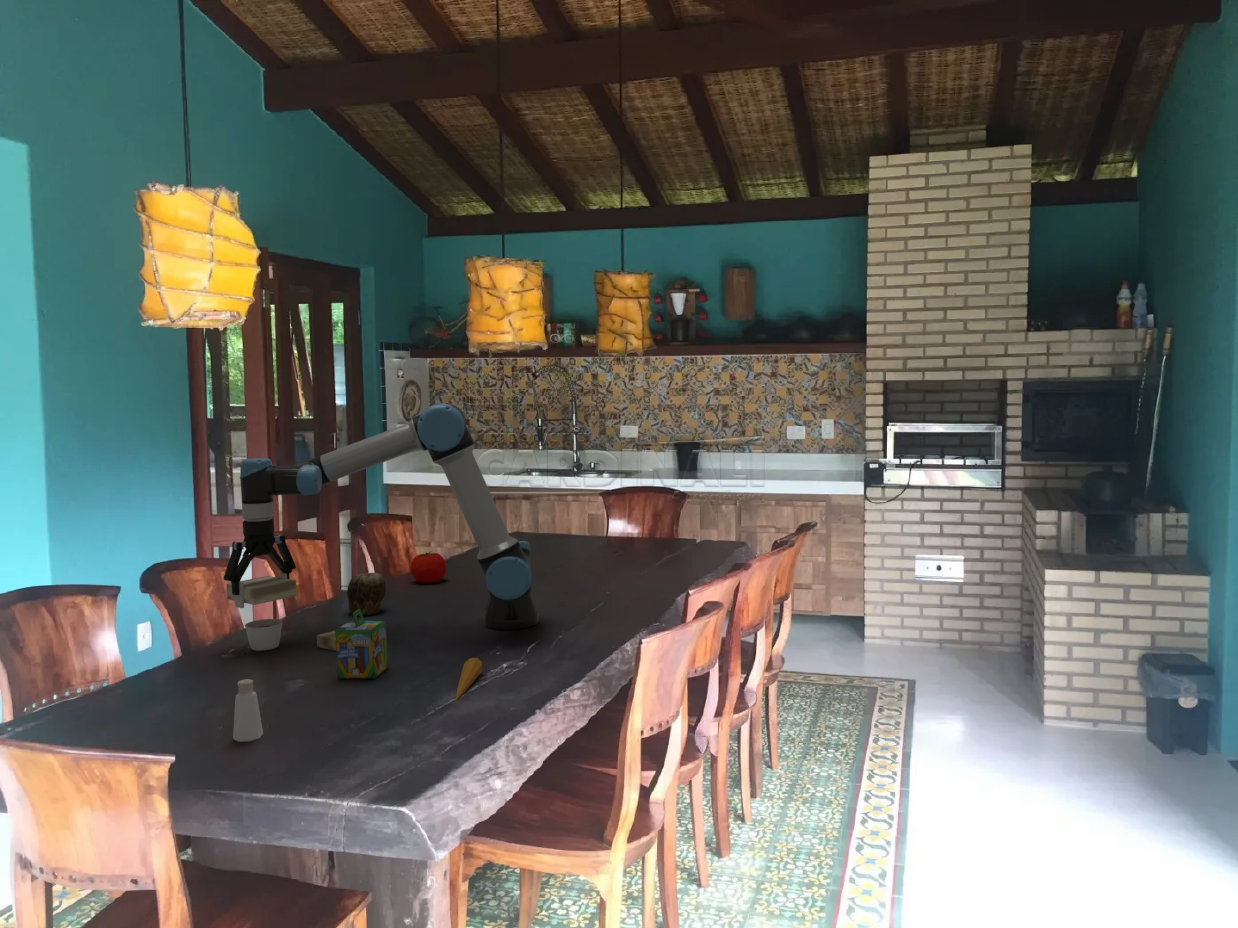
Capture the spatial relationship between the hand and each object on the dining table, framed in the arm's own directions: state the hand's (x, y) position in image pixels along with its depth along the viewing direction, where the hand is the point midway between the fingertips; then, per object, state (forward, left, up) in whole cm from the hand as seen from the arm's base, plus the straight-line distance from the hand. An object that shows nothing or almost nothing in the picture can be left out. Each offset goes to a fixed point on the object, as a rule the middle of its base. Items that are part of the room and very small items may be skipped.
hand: (262, 602), depth 248 cm
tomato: (+24, -79, -12) cm, 83 cm away
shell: (+7, -39, -12) cm, 41 cm away
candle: (0, 0, -12) cm, 12 cm away
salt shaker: (-54, +40, -12) cm, 68 cm away
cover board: (0, 0, +1) cm, 1 cm away
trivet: (-16, -12, -12) cm, 23 cm away
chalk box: (-40, +1, -12) cm, 42 cm away
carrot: (-67, -5, -12) cm, 68 cm away
